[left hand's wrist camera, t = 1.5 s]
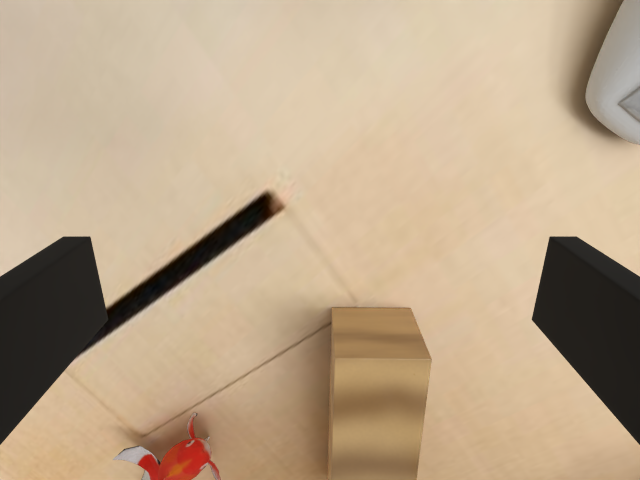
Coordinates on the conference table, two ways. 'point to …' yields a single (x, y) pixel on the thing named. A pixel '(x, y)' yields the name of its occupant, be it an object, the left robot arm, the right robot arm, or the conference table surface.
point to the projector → (618, 76)
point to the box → (376, 394)
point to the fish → (174, 459)
